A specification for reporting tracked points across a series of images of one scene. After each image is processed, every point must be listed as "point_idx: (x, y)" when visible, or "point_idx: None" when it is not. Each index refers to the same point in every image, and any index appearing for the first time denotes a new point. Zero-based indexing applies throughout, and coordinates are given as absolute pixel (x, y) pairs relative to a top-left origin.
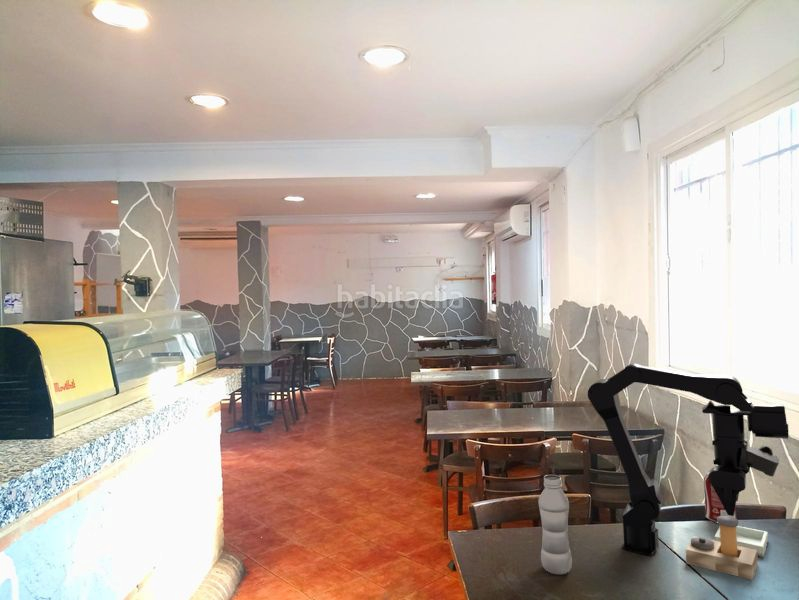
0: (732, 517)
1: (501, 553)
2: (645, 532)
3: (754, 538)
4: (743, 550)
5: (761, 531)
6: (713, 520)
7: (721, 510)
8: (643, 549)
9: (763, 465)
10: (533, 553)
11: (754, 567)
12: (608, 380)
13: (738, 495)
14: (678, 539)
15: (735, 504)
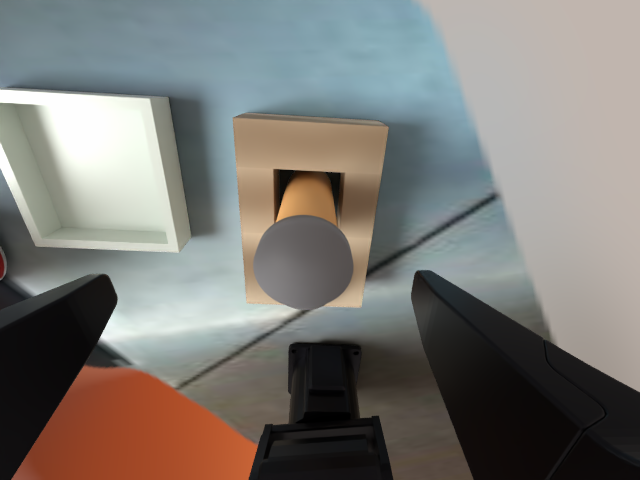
0: (256, 251)
1: None
2: (352, 402)
3: (37, 135)
4: (270, 163)
5: None
6: (6, 264)
7: None
8: (351, 365)
9: None
10: (444, 472)
11: (326, 119)
12: None
13: (63, 294)
14: (216, 315)
15: (513, 321)
